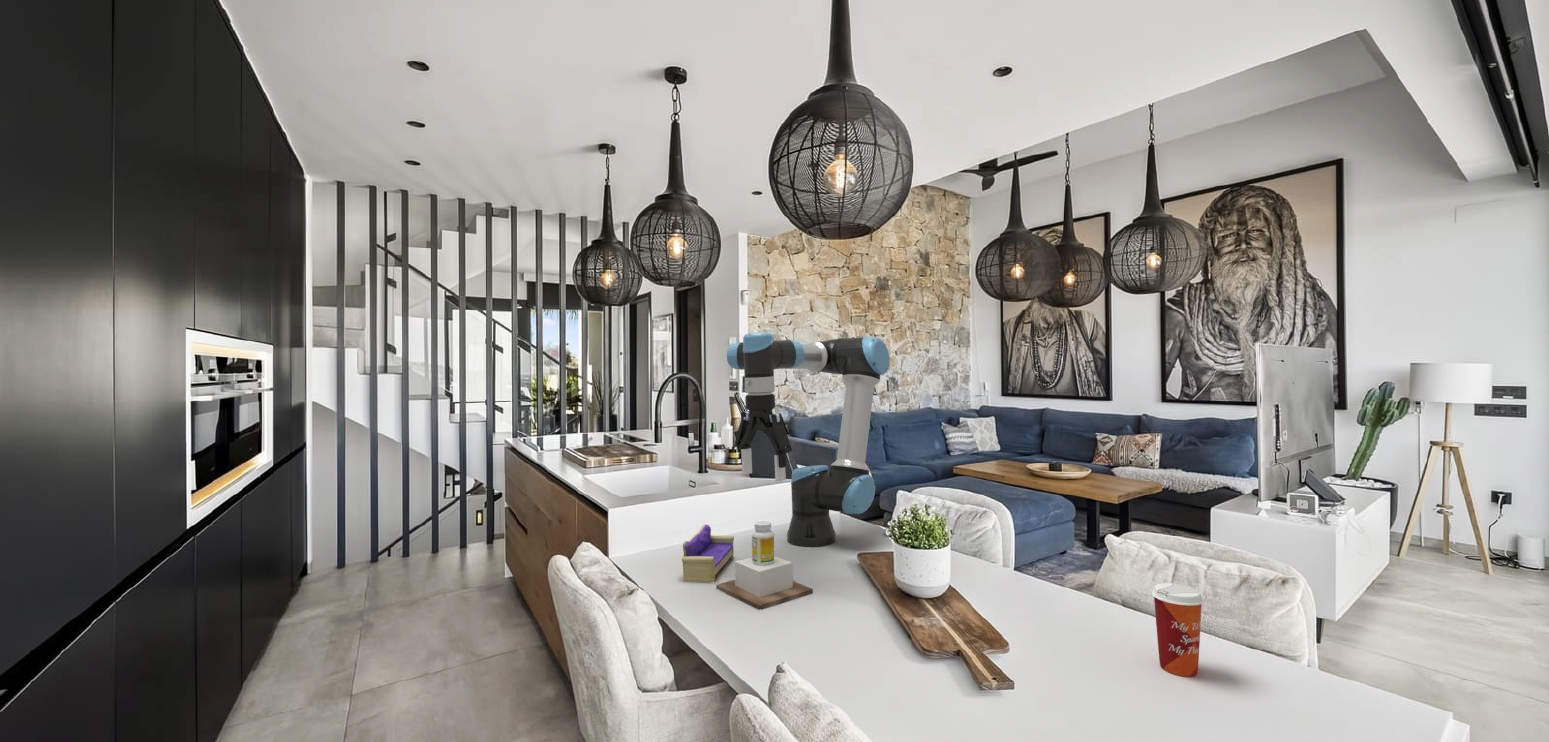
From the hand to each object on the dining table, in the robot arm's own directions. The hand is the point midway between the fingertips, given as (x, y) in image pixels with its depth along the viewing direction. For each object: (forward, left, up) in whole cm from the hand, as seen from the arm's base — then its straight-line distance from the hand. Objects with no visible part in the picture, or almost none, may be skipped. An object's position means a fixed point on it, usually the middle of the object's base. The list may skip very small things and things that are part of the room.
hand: (763, 477), depth 160 cm
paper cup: (-28, +84, -27) cm, 92 cm away
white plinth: (+4, +5, -27) cm, 27 cm away
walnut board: (+4, +5, -27) cm, 27 cm away
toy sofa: (+6, -18, -27) cm, 33 cm away
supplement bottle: (+4, +5, -20) cm, 21 cm away
